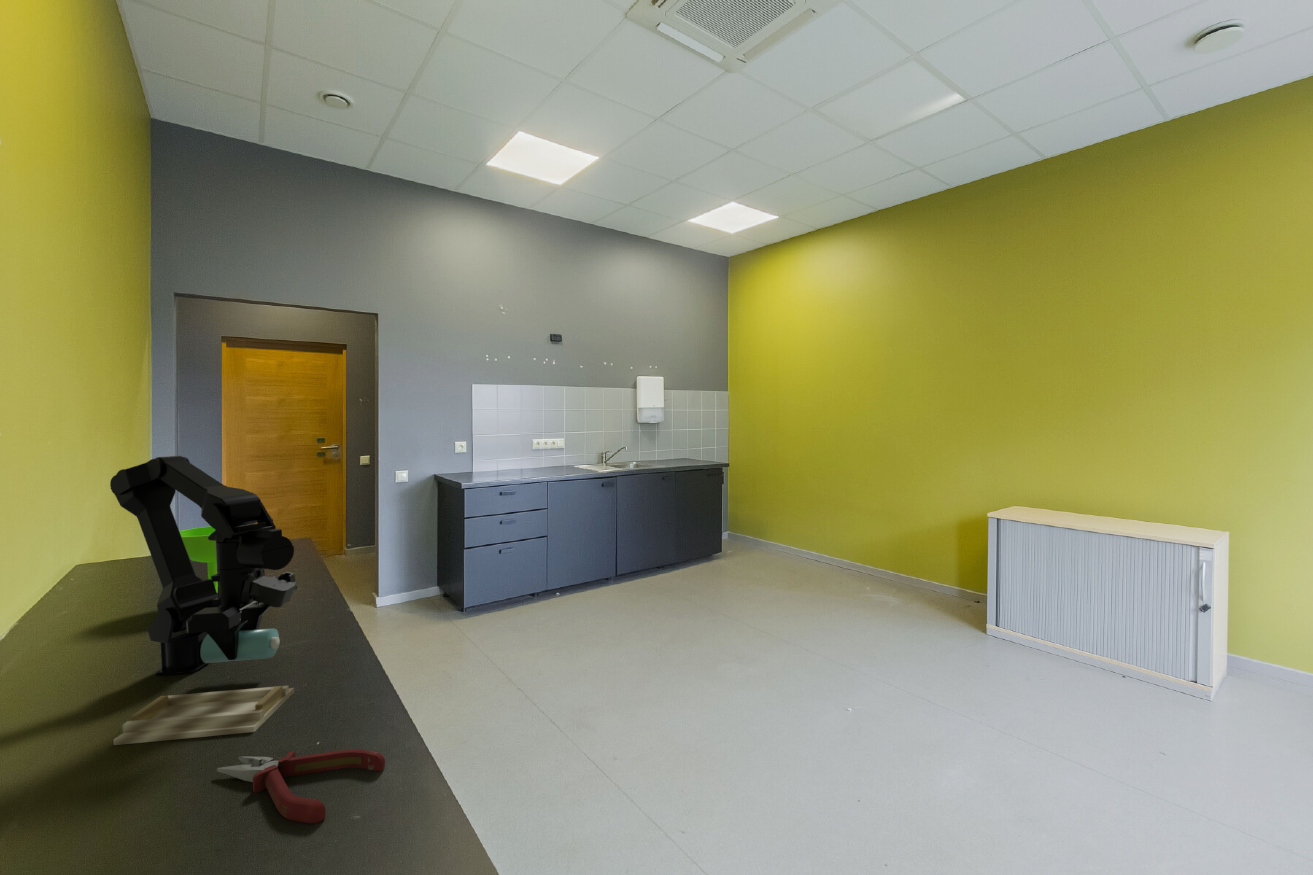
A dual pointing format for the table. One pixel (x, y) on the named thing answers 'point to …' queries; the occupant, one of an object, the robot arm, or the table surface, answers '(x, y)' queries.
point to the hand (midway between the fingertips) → (241, 653)
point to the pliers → (271, 772)
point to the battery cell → (244, 646)
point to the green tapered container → (201, 548)
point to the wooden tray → (203, 714)
